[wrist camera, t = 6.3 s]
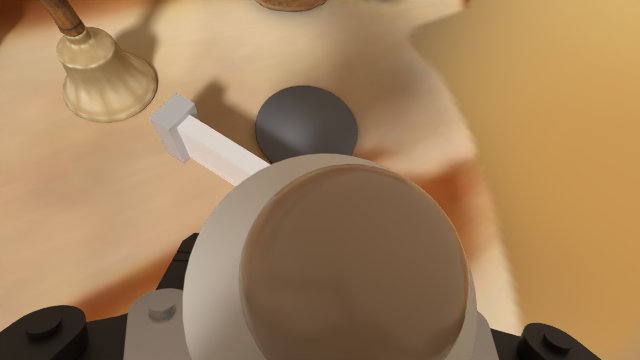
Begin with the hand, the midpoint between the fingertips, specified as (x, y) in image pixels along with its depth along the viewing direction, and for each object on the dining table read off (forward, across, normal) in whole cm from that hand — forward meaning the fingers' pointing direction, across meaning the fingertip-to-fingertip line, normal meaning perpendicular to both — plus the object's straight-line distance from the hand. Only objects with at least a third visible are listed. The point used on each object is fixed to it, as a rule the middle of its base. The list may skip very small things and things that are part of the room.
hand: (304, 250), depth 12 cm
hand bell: (+26, +18, -1) cm, 32 cm away
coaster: (+24, -1, +1) cm, 24 cm away
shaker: (+2, 0, +5) cm, 6 cm away
